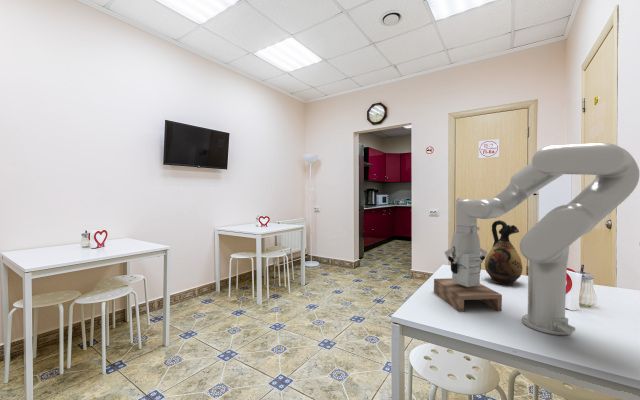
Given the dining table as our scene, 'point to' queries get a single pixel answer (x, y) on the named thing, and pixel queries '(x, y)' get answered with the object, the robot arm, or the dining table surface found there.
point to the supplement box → (467, 270)
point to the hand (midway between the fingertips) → (465, 272)
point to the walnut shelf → (466, 294)
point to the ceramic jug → (503, 256)
